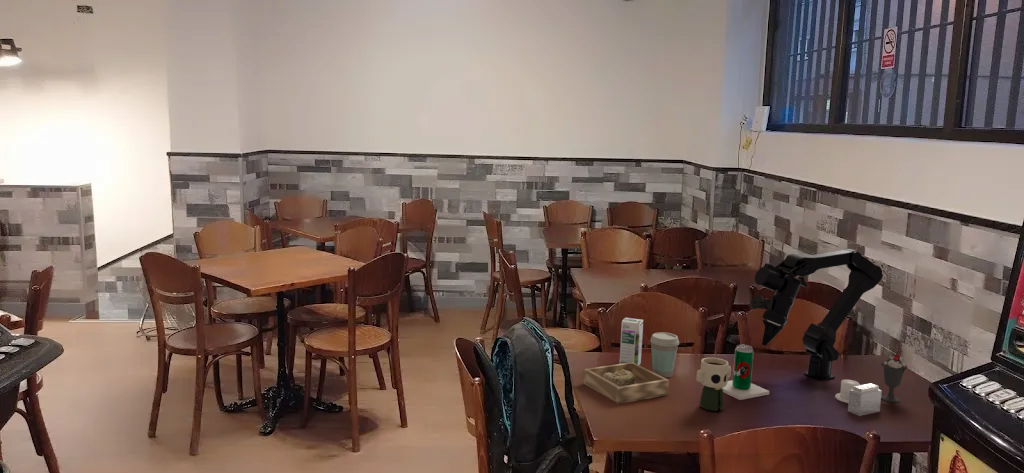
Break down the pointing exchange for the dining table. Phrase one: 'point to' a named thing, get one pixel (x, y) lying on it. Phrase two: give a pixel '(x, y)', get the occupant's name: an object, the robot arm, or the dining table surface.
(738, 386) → the soda can
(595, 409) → the dining table surface
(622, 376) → the coiled snake
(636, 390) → the bread tray
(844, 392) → the white flanged peg
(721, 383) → the character mug
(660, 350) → the coffee cup
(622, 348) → the syrup box
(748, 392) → the coaster
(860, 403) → the napkin holder
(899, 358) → the sundae
